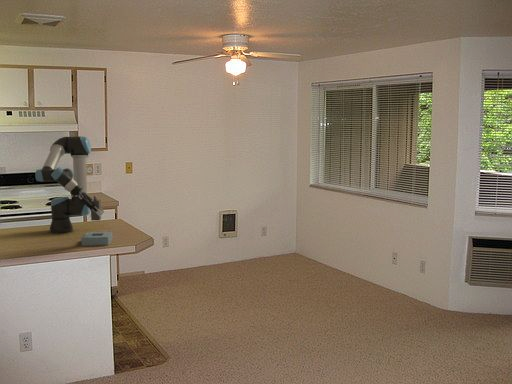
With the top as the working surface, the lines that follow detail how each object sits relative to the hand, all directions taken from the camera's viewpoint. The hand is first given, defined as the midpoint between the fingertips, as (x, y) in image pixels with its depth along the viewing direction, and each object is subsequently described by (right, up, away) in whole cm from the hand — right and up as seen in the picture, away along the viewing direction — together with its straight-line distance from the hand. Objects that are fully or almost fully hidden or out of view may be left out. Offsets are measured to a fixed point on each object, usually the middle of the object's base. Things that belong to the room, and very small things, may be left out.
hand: (102, 213), depth 360 cm
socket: (-4, -18, +2) cm, 18 cm away
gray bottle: (-4, -4, 0) cm, 5 cm away
